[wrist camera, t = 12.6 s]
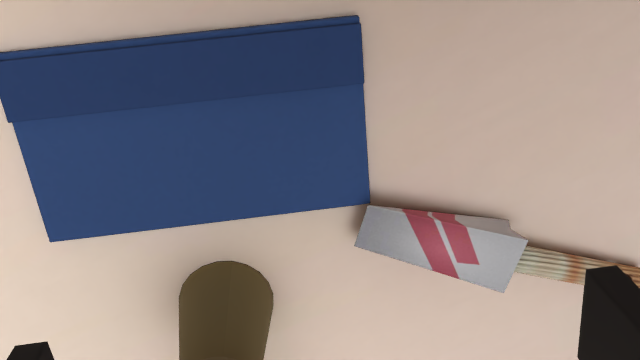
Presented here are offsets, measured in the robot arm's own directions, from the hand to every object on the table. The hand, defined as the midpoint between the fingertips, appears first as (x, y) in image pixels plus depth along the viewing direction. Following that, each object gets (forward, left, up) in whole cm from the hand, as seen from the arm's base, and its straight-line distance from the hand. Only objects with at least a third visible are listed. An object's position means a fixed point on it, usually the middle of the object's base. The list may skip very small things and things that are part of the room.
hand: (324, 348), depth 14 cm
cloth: (+5, +1, -20) cm, 21 cm away
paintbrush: (-13, +11, -21) cm, 26 cm away
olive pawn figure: (+5, +12, -21) cm, 24 cm away
